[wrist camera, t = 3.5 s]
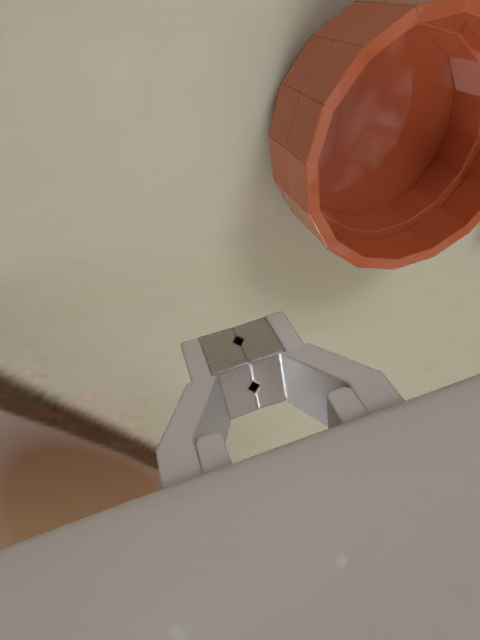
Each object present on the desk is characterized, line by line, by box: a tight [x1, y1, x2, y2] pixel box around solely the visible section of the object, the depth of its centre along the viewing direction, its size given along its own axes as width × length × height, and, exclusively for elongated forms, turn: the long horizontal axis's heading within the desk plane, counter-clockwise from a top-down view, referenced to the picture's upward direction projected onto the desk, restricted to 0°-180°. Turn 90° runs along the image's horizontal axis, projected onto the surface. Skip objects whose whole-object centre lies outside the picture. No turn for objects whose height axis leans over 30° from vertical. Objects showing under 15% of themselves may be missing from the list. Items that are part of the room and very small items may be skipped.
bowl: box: [269, 0, 480, 269], centre depth 21 cm, size 11×11×5 cm
